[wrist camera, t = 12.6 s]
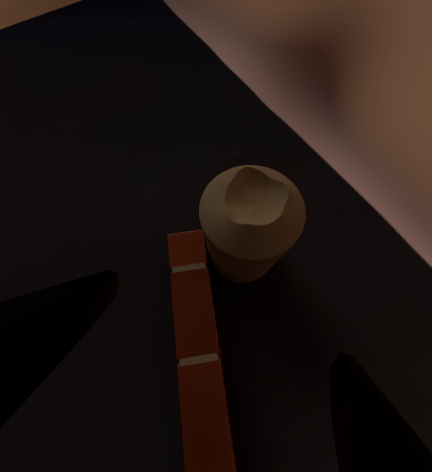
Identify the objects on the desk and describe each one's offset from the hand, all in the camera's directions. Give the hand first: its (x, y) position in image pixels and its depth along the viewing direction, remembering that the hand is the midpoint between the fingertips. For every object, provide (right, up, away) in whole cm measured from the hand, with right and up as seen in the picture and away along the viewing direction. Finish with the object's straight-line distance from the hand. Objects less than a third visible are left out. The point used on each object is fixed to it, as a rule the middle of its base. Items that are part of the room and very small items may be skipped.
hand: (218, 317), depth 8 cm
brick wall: (-1, -8, +7) cm, 11 cm away
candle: (+2, +2, +11) cm, 11 cm away
